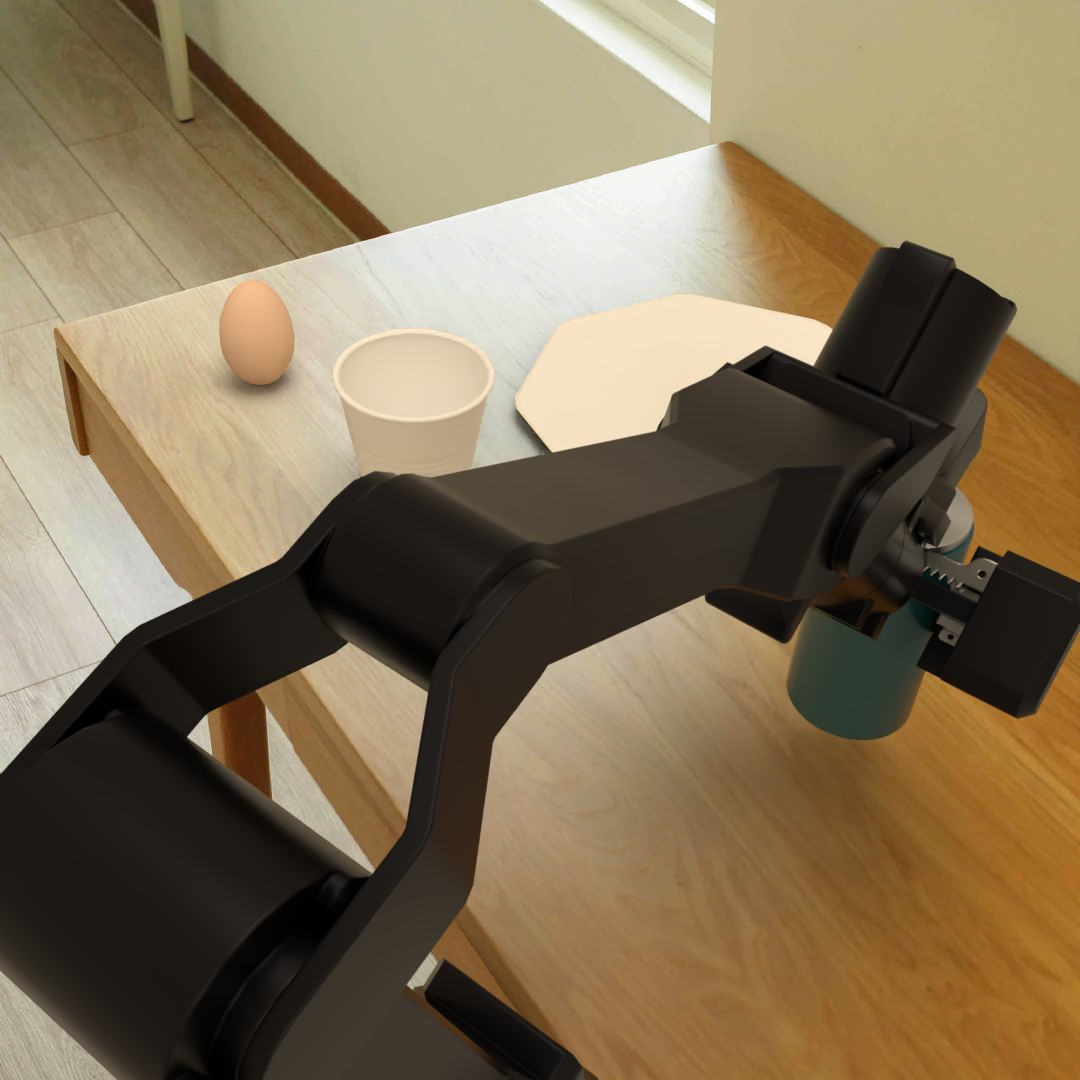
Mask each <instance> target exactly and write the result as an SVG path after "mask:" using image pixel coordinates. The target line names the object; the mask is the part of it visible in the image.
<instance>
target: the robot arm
mask: <svg viewBox="0 0 1080 1080" xmlns="http://www.w3.org/2000/svg"><path fill="white" fill-rule="evenodd" d="M1017 312H1018V307H1017V304H1016V303H1015V302H1014V301H1013V300H1012V299H1009V298H1007V297H1005V296H1002V295H1000V294H999V292H997V291H996V290H994V289H993V288H992V287H991V286H989V285H987V284H986V283H984V282H983V281H981V280H980V279H978V278H976V277H974V276H973V275H971V274H969V273H967V272H965V271H964V270H961V269H960V268H958V267H957V263H956V259H955V258H954V257H952V256H949V255H946V254H944V253H941V252H939V251H936V250H933V249H931V248H928V247H925V246H923V245H920V244H917V243H915V242H912V241H909V240H904V241H902V242H901V244H900V246H899V247H893V246H889V247H888V246H887V247H885V246H884V247H883V246H882V247H879V248H876V249H875V250H874V252H873V253H872V256H871V257H870V259H869V261H868V263H867V264H866V267H865V269H864V270H863V272H862V274H861V276H860V278H859V280H858V281H857V283H856V285H855V286H854V289H853V290H852V293H851V295H850V296H849V298H848V300H847V302H846V304H845V306H844V308H843V309H842V311H841V313H840V314H839V317H838V319H837V321H836V322H835V324H834V326H833V328H832V332H831V334H830V336H829V338H828V339H827V341H826V343H825V345H824V347H823V349H822V351H821V352H820V354H819V356H818V358H817V360H816V362H815V364H814V366H812V365H810V364H808V363H805V362H803V361H801V360H798V359H796V358H794V357H791V356H789V355H787V354H784V353H782V352H780V351H778V350H775V349H773V348H771V347H768V346H766V345H765V346H763V347H762V348H760V349H758V350H757V351H755V352H753V353H752V354H750V355H748V356H747V357H745V358H743V359H742V360H740V361H738V362H737V363H735V364H731V363H728V362H727V363H726V364H724V365H723V366H722V367H721V368H720V369H719V370H717V371H716V372H715V373H714V374H713V375H712V376H709V377H707V378H705V379H703V380H701V381H699V382H696V383H694V384H692V385H690V386H688V387H685V388H683V389H681V390H679V391H677V392H675V393H673V394H672V396H671V399H670V402H669V405H668V408H667V411H666V413H665V416H664V418H663V419H662V420H661V422H660V423H659V425H658V427H657V430H656V431H654V432H649V433H644V434H639V435H635V436H630V437H625V438H620V439H615V440H610V441H606V442H601V443H596V444H591V445H586V446H581V447H576V448H572V449H567V450H562V451H557V452H552V453H550V452H547V453H543V454H539V455H538V454H537V455H533V456H529V457H523V458H519V459H513V460H509V461H504V462H499V463H495V464H489V465H484V466H480V467H475V468H471V469H470V470H465V471H460V472H455V473H450V474H445V475H441V476H436V477H425V476H420V475H417V474H413V473H408V474H400V475H396V474H394V473H391V472H381V471H374V472H371V473H369V474H367V475H364V476H362V477H361V476H360V477H357V478H355V479H354V480H352V481H351V482H350V483H349V484H347V486H346V487H345V488H343V489H342V490H341V491H339V492H338V493H337V495H336V496H334V497H333V498H332V499H331V500H330V501H329V502H328V504H326V506H325V507H323V509H322V511H320V513H319V514H318V515H317V516H316V518H314V520H313V521H312V522H311V523H310V524H309V525H308V526H307V528H306V529H305V530H304V531H303V532H302V533H301V535H299V537H298V538H297V539H296V541H294V542H293V544H292V545H291V546H290V547H289V549H288V550H287V551H286V552H285V553H284V554H283V555H282V556H281V557H279V559H277V560H276V561H274V562H272V563H270V564H268V565H265V566H264V567H261V568H259V569H257V570H255V571H253V572H251V573H248V574H245V575H243V576H241V577H240V578H239V577H238V578H237V579H235V580H233V581H230V582H229V583H227V584H223V585H222V586H220V587H218V588H215V589H213V590H212V591H209V592H208V593H205V594H203V595H201V596H199V597H196V598H194V599H192V600H190V601H188V602H186V603H183V604H181V605H180V606H177V607H175V608H173V609H170V610H168V611H166V612H164V613H162V614H160V615H158V616H155V617H154V618H152V619H151V618H150V619H149V620H147V621H145V622H143V623H141V624H139V625H138V626H135V628H133V629H132V630H130V631H129V632H128V633H126V634H125V635H124V636H123V637H122V638H121V639H120V640H119V641H118V642H117V643H116V644H115V646H113V648H112V649H111V650H110V651H109V653H107V655H106V656H104V658H103V659H102V660H101V661H100V662H99V664H98V665H96V667H95V668H94V669H93V670H92V671H91V672H90V673H89V675H87V677H86V678H85V679H84V680H83V681H82V682H81V683H80V685H79V686H78V687H77V688H76V689H75V690H74V691H73V692H72V693H71V695H70V696H69V697H68V698H67V699H66V700H65V701H64V702H63V704H62V705H60V706H59V708H58V709H57V710H56V711H55V712H54V714H53V715H52V716H51V717H50V718H49V719H48V720H47V722H45V723H44V725H43V726H42V727H41V728H40V729H39V730H38V731H37V732H36V733H35V735H33V737H32V738H31V739H30V740H29V741H28V742H27V744H26V745H24V747H23V748H22V749H21V751H19V752H18V754H17V755H16V756H15V757H14V758H13V759H12V760H11V761H10V762H9V764H8V765H7V766H5V768H4V769H3V770H2V771H1V773H0V972H1V973H2V974H3V975H4V976H5V977H6V978H7V979H8V980H9V981H10V982H12V984H14V986H15V987H17V988H18V989H19V990H20V991H21V992H22V993H23V994H24V995H26V996H27V997H28V998H29V999H30V1000H31V1002H33V1003H34V1004H35V1005H36V1006H37V1007H38V1008H39V1009H40V1010H41V1011H42V1012H44V1013H45V1014H46V1015H47V1016H48V1017H49V1018H50V1019H51V1020H52V1021H53V1022H54V1023H55V1024H56V1025H58V1026H59V1028H61V1029H62V1030H63V1031H64V1032H65V1033H66V1034H67V1035H68V1036H69V1037H71V1039H73V1040H74V1042H76V1044H77V1045H79V1046H80V1047H81V1048H82V1049H83V1050H84V1051H85V1052H86V1053H87V1054H89V1056H91V1057H92V1058H93V1059H94V1060H95V1061H96V1062H97V1063H98V1064H99V1065H100V1066H102V1067H103V1068H104V1069H105V1070H106V1071H107V1072H108V1073H109V1074H110V1075H111V1076H112V1077H114V1079H115V1080H599V1077H598V1076H596V1075H595V1074H594V1073H593V1072H591V1071H590V1070H589V1069H587V1068H586V1067H584V1066H583V1065H582V1064H581V1063H580V1061H579V1060H578V1059H577V1058H576V1056H575V1055H574V1054H573V1053H572V1051H569V1050H568V1049H567V1048H565V1047H564V1046H563V1045H561V1044H560V1043H559V1042H557V1041H556V1040H555V1039H553V1038H552V1037H550V1035H548V1034H547V1033H545V1031H543V1030H541V1028H539V1027H538V1026H536V1025H535V1024H533V1023H532V1022H531V1021H529V1020H528V1019H527V1018H525V1017H524V1016H523V1015H521V1014H520V1013H518V1012H517V1011H516V1010H515V1009H513V1008H512V1007H511V1006H510V1005H508V1004H507V1003H506V1002H504V1001H502V1000H501V999H500V998H498V997H497V996H496V995H494V993H492V992H491V991H489V990H488V989H487V988H485V987H484V986H482V985H481V984H480V983H478V982H477V981H476V980H475V979H473V978H472V977H470V976H469V975H468V974H466V973H465V972H464V971H463V970H461V969H460V968H458V967H457V966H456V965H454V964H453V963H452V962H450V961H449V960H448V959H446V958H445V957H444V958H439V960H438V962H437V963H436V965H435V966H434V968H433V969H432V970H431V972H430V974H429V976H428V977H427V979H426V980H425V982H424V984H423V985H418V986H417V985H416V986H414V987H413V989H412V988H411V987H410V986H409V985H408V984H409V983H410V981H411V980H412V979H413V977H414V976H415V974H416V973H417V972H418V970H419V969H420V968H421V966H422V964H423V963H424V962H425V961H426V959H427V958H428V956H429V955H430V954H431V952H432V951H433V949H434V948H435V947H436V945H437V944H438V943H439V941H440V940H441V938H442V937H443V936H444V934H445V933H446V931H448V929H449V927H450V926H451V925H452V924H453V922H454V921H455V919H456V918H457V916H459V913H461V911H462V910H463V908H464V907H465V905H466V904H467V902H468V899H469V897H470V894H471V893H472V890H473V886H474V885H475V877H476V869H477V863H478V855H479V846H480V841H481V834H482V825H483V818H484V811H485V805H486V804H485V803H486V796H487V789H488V782H489V776H490V767H491V761H492V753H493V747H494V742H495V739H496V737H497V736H498V735H499V733H500V732H501V730H502V729H503V728H504V726H505V725H506V724H507V722H508V721H509V720H510V719H511V717H513V714H514V713H515V712H516V710H518V709H519V707H520V706H521V704H522V702H523V701H524V700H525V699H526V697H527V695H529V694H530V692H531V690H532V689H533V688H534V687H535V686H536V684H537V683H538V682H539V680H540V678H541V677H542V676H543V674H544V673H545V671H546V670H547V668H548V666H550V665H552V664H554V663H557V662H558V661H561V660H563V659H566V658H568V657H570V656H572V655H574V654H576V653H579V652H581V651H583V650H586V649H588V648H590V647H592V646H595V645H596V644H599V643H601V642H603V641H606V640H608V639H610V638H612V637H614V636H616V635H619V634H621V633H623V632H625V631H628V630H630V629H632V628H634V627H636V626H639V625H641V624H644V623H646V622H648V621H650V620H652V619H655V618H657V617H660V616H661V615H664V614H666V613H668V612H671V611H672V610H674V609H676V608H679V607H681V606H684V605H685V604H688V603H691V602H692V601H695V600H697V599H699V598H702V597H703V596H704V601H705V603H706V604H708V605H709V606H711V607H713V608H715V609H717V610H719V611H721V612H722V613H724V614H726V615H728V616H730V617H732V618H733V619H735V620H737V621H739V622H741V623H743V624H745V625H747V626H749V627H750V628H753V629H754V630H756V631H758V632H760V633H761V634H763V635H765V636H767V637H768V638H770V639H773V640H775V641H776V642H778V643H779V644H783V645H786V644H788V643H790V641H791V640H792V638H793V637H794V636H795V633H796V631H798V629H799V627H800V623H801V620H802V618H803V617H804V615H805V613H806V611H807V609H808V607H809V608H811V609H813V610H815V611H817V612H819V613H821V614H823V615H825V616H827V617H829V618H831V619H833V620H835V621H837V622H839V623H841V624H843V625H845V626H847V627H849V628H851V629H853V630H855V631H857V632H859V633H861V634H863V635H865V636H867V637H869V638H871V639H873V640H875V641H876V640H877V638H878V636H879V634H880V632H881V630H882V629H883V627H884V625H885V623H886V621H887V619H888V617H889V615H890V614H893V613H895V612H896V611H897V610H899V609H900V608H901V607H902V606H904V605H905V604H906V603H907V602H908V600H909V599H910V598H911V599H913V600H915V601H917V602H919V603H921V604H923V605H925V606H927V607H929V608H931V609H934V610H936V611H938V612H940V613H941V614H940V616H939V618H938V620H937V622H936V623H937V626H936V628H935V630H934V632H933V634H932V636H931V637H930V639H929V641H928V643H927V645H926V647H925V649H924V651H923V653H922V655H921V657H920V659H919V660H918V662H917V664H916V666H917V667H919V668H921V669H923V670H925V672H927V673H928V674H931V675H933V676H934V677H936V678H938V679H939V680H940V681H941V682H944V683H945V684H948V685H949V686H951V687H953V688H955V689H956V690H959V691H961V692H963V693H964V694H967V695H969V696H971V697H973V698H975V699H977V700H979V701H980V702H983V703H985V704H987V705H988V706H990V707H993V708H995V709H997V710H998V711H1001V712H1002V713H1004V714H1007V715H1009V716H1010V717H1012V718H1015V719H1016V720H1020V719H1022V718H1026V717H1029V716H1033V715H1037V713H1038V711H1039V710H1040V707H1041V705H1042V704H1043V702H1044V701H1045V698H1046V696H1047V694H1048V692H1049V690H1050V688H1051V686H1052V685H1053V682H1054V680H1055V678H1056V677H1057V675H1058V673H1059V671H1060V669H1061V667H1062V666H1063V663H1064V662H1065V659H1066V658H1067V656H1068V654H1069V652H1070V650H1071V648H1072V646H1073V645H1074V642H1075V640H1076V639H1077V637H1078V635H1079V634H1080V581H1078V580H1075V579H1074V578H1071V577H1069V576H1067V575H1065V574H1062V573H1061V572H1058V571H1056V570H1054V569H1051V568H1050V567H1047V566H1045V565H1042V564H1040V563H1038V562H1036V561H1033V560H1031V559H1029V558H1027V557H1024V556H1023V555H1021V554H1018V553H1016V552H1013V551H1011V550H1010V549H1007V551H1006V552H1005V553H1004V555H1003V556H1002V555H1001V554H999V553H996V552H994V551H991V550H990V549H987V548H985V547H983V546H981V545H978V546H977V547H976V548H975V551H974V553H973V555H972V557H971V559H970V561H969V563H967V564H963V565H962V564H960V563H958V562H956V561H954V560H951V559H949V558H947V557H945V556H943V555H941V554H938V553H936V552H934V551H932V550H930V549H928V548H925V546H926V544H927V543H928V544H930V545H932V546H934V547H938V546H939V544H940V542H941V541H942V539H943V537H944V535H945V533H946V531H947V529H948V527H949V525H950V523H951V520H950V519H949V517H948V515H947V511H948V509H949V507H950V505H951V503H952V501H953V499H954V497H955V495H956V489H955V488H956V487H958V484H959V483H960V481H961V479H962V478H963V476H964V475H965V473H966V471H967V470H968V468H969V466H970V464H971V463H972V462H973V460H974V459H975V458H976V456H977V455H978V453H979V452H980V450H981V448H982V443H983V436H984V429H985V424H986V417H987V410H988V399H987V397H986V395H985V393H984V392H983V391H982V390H981V389H980V388H978V385H979V384H980V382H981V381H982V378H983V376H984V375H985V372H986V370H987V369H988V367H989V365H990V363H991V362H992V359H993V357H994V356H995V354H996V352H997V350H998V349H999V346H1000V345H1001V343H1002V341H1003V339H1004V337H1005V335H1006V334H1007V332H1008V330H1009V328H1010V327H1011V325H1012V323H1013V321H1014V319H1015V317H1016V315H1017ZM929 569H931V570H930V576H932V577H934V576H935V575H936V574H937V573H939V577H938V579H939V580H940V581H942V580H943V579H944V578H945V577H946V576H947V584H949V585H950V584H951V583H953V582H954V581H956V585H955V587H954V589H953V591H952V590H950V589H948V588H946V587H943V586H941V585H939V584H937V583H935V582H933V581H931V580H929V579H927V578H924V577H922V574H923V573H925V572H926V571H928V570H929ZM349 643H350V644H351V645H353V646H354V647H355V648H358V649H359V650H361V651H362V652H364V653H365V654H367V655H368V656H370V657H372V658H373V659H374V660H376V661H378V662H379V663H380V664H382V665H384V666H386V667H387V668H389V669H390V670H392V671H393V672H395V673H396V674H398V675H400V676H401V677H403V678H404V679H405V680H407V681H409V682H410V683H412V684H414V685H415V686H417V687H419V689H421V690H423V691H425V692H426V693H427V697H426V702H425V709H424V713H423V714H424V715H423V719H422V720H423V721H422V727H421V731H420V738H419V744H418V750H417V757H416V761H415V762H416V763H415V768H414V774H413V781H412V786H411V793H410V799H409V805H408V811H407V817H406V821H405V822H406V823H405V828H404V830H403V832H402V834H401V835H400V837H399V838H398V840H397V841H396V842H395V843H394V845H392V847H391V848H390V849H389V851H388V853H387V854H386V855H385V857H383V859H382V860H381V862H380V863H379V864H378V866H377V867H376V868H375V870H373V872H371V871H370V870H368V869H367V868H365V867H364V866H363V865H361V864H360V863H359V862H358V861H356V860H355V859H353V858H352V857H351V856H350V855H348V854H347V853H345V852H344V851H342V850H341V849H340V848H338V847H337V846H335V845H334V844H333V843H332V842H331V841H329V840H327V839H326V838H325V837H324V836H323V835H320V834H319V833H318V832H317V831H315V830H314V829H313V828H311V827H310V826H308V824H306V823H304V822H303V821H302V820H300V818H298V817H296V816H295V815H294V814H292V813H291V812H289V811H288V810H287V809H285V808H284V807H283V806H281V805H280V804H278V803H277V802H276V801H275V800H273V799H272V798H270V797H269V796H267V794H265V793H264V792H263V791H261V790H259V789H258V788H257V787H256V786H254V785H253V784H251V783H250V782H248V781H247V780H246V779H245V778H243V777H242V776H241V775H239V774H238V773H237V772H235V771H234V770H233V769H231V768H229V767H228V766H227V765H226V764H225V763H223V762H222V761H220V760H219V759H218V758H216V757H215V756H213V755H212V754H210V753H209V752H208V751H207V750H205V749H204V748H203V747H201V746H200V745H198V744H197V743H196V742H194V741H193V740H192V739H190V738H189V736H190V734H191V733H192V732H193V731H194V729H196V727H198V725H199V724H200V723H201V721H202V720H203V719H204V718H205V717H206V716H207V715H208V714H210V713H212V712H213V711H215V710H217V709H220V708H222V707H224V706H226V705H228V704H230V703H232V702H234V701H237V700H238V699H242V698H243V697H245V696H248V695H250V694H252V693H254V692H256V691H258V690H260V689H262V688H264V687H266V686H268V685H271V684H273V683H274V682H278V681H279V680H281V679H283V678H285V677H288V676H290V675H292V674H293V673H296V672H299V671H300V670H303V669H305V668H306V667H309V666H311V665H313V664H315V663H317V662H320V661H322V660H324V659H325V658H328V657H330V656H332V655H334V654H336V653H337V652H338V651H340V650H341V649H342V648H344V647H345V646H346V645H348V644H349Z"/></svg>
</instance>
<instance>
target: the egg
mask: <svg viewBox="0 0 1080 1080" xmlns="http://www.w3.org/2000/svg"><path fill="white" fill-rule="evenodd" d="M218 334H219V344H220V345H219V346H220V349H221V350H220V351H221V354H222V356H223V358H224V361H225V362H226V364H227V365H228V367H229V368H230V370H231V371H232V372H233V373H234V374H235V375H236V376H237V377H238V378H240V380H242V381H244V382H246V383H249V384H250V385H255V386H266V385H269V384H271V383H273V382H275V381H276V380H278V379H280V378H281V376H282V375H283V374H284V373H285V372H286V370H287V369H288V367H289V365H290V363H291V361H292V359H293V355H294V351H295V331H294V326H293V320H292V318H291V315H290V312H289V311H288V308H287V307H286V305H285V302H284V301H283V299H282V298H281V297H280V295H279V294H278V293H277V292H276V290H275V289H273V288H272V287H271V286H270V285H268V284H266V283H264V282H263V281H260V280H254V279H253V280H246V281H244V282H241V283H240V284H238V285H237V286H235V287H234V288H233V289H232V290H231V292H230V293H229V294H228V295H227V297H226V300H225V302H224V304H223V307H222V311H221V314H220V316H219V326H218Z"/></svg>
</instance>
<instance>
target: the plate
mask: <svg viewBox="0 0 1080 1080" xmlns="http://www.w3.org/2000/svg"><path fill="white" fill-rule="evenodd" d="M832 330H833V328H831V327H830V326H829V325H827V324H825V323H823V322H820V321H819V320H817V319H815V318H810V317H805V316H802V315H801V316H800V315H795V314H791V313H787V312H782V311H781V312H780V311H777V310H772V309H767V308H762V307H757V306H752V305H748V304H744V303H739V302H734V301H729V300H723V299H718V298H715V297H709V296H705V295H700V294H695V293H674V294H671V295H665V296H662V297H657V298H653V299H649V300H645V301H640V302H637V303H632V304H627V305H623V306H620V307H614V308H611V309H607V310H602V311H598V312H595V313H590V314H586V315H580V316H578V317H572V318H570V319H566V320H565V321H563V322H562V323H559V324H558V325H556V326H555V327H554V329H553V330H552V333H551V335H550V336H549V338H548V340H547V341H546V343H545V345H544V347H543V348H542V350H541V351H540V353H539V355H538V357H537V359H536V360H535V361H534V364H533V365H532V367H531V369H530V370H529V372H528V374H527V375H526V377H525V379H524V380H523V382H522V384H521V386H520V387H519V389H518V390H517V393H516V394H515V396H514V403H515V405H514V406H515V411H516V412H517V414H518V415H519V416H520V417H521V418H522V420H523V421H524V422H525V424H527V426H528V427H529V429H531V431H532V432H533V433H534V434H535V436H536V437H537V438H538V439H539V441H540V442H541V443H542V444H543V446H544V447H545V448H546V449H547V450H548V453H552V452H557V451H562V450H567V449H572V448H576V447H581V446H586V445H591V444H596V443H601V442H606V441H610V440H615V439H620V438H625V437H630V436H635V435H639V434H644V433H649V432H654V431H656V430H657V427H658V425H659V423H660V422H661V420H662V419H663V418H664V416H665V413H666V411H667V408H668V405H669V402H670V399H671V396H672V394H673V393H675V392H677V391H679V390H681V389H683V388H685V387H688V386H690V385H692V384H694V383H696V382H699V381H701V380H703V379H705V378H707V377H709V376H712V375H713V374H714V373H715V372H716V371H717V370H719V369H720V368H721V367H722V366H723V365H724V364H726V363H727V362H728V363H731V364H735V363H737V362H738V361H740V360H742V359H743V358H745V357H747V356H748V355H750V354H752V353H753V352H755V351H757V350H758V349H760V348H762V347H763V346H765V345H766V346H768V347H771V348H773V349H775V350H778V351H780V352H782V353H784V354H787V355H789V356H791V357H794V358H796V359H798V360H801V361H803V362H805V363H808V364H810V365H812V366H814V364H815V362H816V360H817V358H818V356H819V354H820V352H821V351H822V349H823V347H824V345H825V343H826V341H827V339H828V338H829V336H830V334H831V332H832Z"/></svg>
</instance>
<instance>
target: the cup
mask: <svg viewBox="0 0 1080 1080" xmlns="http://www.w3.org/2000/svg"><path fill="white" fill-rule="evenodd" d="M331 381H332V384H333V388H334V390H335V392H336V393H337V394H338V396H339V398H340V401H341V405H342V410H343V413H344V418H345V421H346V424H347V430H348V433H349V437H350V440H351V444H352V447H353V452H354V456H355V459H356V463H357V468H358V470H359V474H360V477H362V476H364V475H367V474H369V473H371V472H374V471H381V472H391V473H394V474H396V475H400V474H408V473H413V474H417V475H420V476H425V477H436V476H441V475H445V474H450V473H455V472H460V471H465V470H470V469H472V466H473V462H474V458H475V453H476V448H477V445H478V440H479V435H480V431H481V426H482V423H483V420H484V419H483V418H484V414H485V411H486V406H487V401H488V397H489V395H490V394H491V392H492V391H493V389H494V385H495V383H496V371H495V367H494V364H493V362H492V360H491V359H490V357H489V356H488V355H487V354H486V353H485V351H484V350H483V349H481V348H480V347H479V346H478V345H476V344H475V343H473V342H471V341H470V340H467V339H465V338H464V337H461V336H458V335H456V334H453V333H451V332H446V331H443V330H442V331H441V330H438V329H437V330H436V329H428V328H397V329H390V330H385V331H381V332H376V333H373V334H371V335H368V336H365V337H363V338H361V339H359V340H357V341H355V342H353V343H352V344H350V345H349V346H348V347H347V348H346V349H344V350H343V351H342V352H341V353H340V354H339V356H338V357H337V358H336V360H335V362H334V365H333V368H332V374H331Z"/></svg>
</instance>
